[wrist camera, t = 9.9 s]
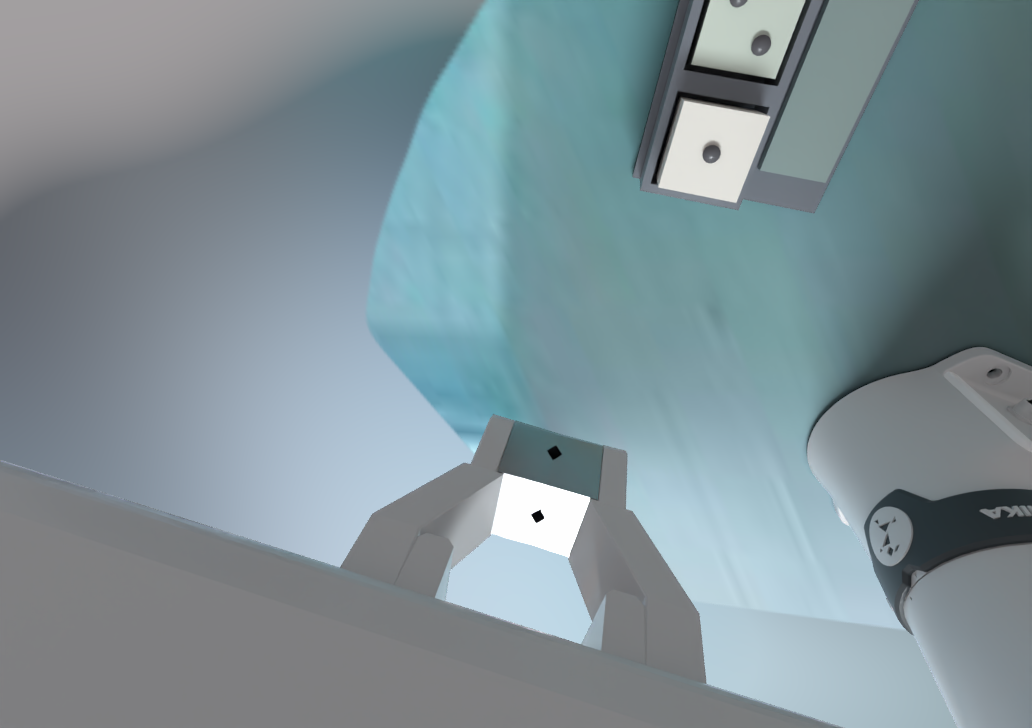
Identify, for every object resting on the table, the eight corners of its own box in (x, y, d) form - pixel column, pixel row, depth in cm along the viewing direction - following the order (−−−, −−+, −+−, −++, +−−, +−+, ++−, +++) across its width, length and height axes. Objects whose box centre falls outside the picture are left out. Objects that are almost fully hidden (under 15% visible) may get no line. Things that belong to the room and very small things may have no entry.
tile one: (756, 110, 27) (771, 116, 24) (726, 188, 30) (736, 203, 27) (679, 96, 28) (684, 101, 25) (656, 175, 30) (658, 188, 27)
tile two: (796, -18, 26) (817, -28, 23) (761, 76, 28) (776, 79, 25) (713, -31, 26) (723, -43, 23) (685, 63, 29) (691, 64, 26)
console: (1004, -183, 22) (1069, -226, 19) (811, 211, 32) (832, 228, 29) (737, -215, 23) (753, -260, 20) (632, 175, 33) (631, 188, 30)
